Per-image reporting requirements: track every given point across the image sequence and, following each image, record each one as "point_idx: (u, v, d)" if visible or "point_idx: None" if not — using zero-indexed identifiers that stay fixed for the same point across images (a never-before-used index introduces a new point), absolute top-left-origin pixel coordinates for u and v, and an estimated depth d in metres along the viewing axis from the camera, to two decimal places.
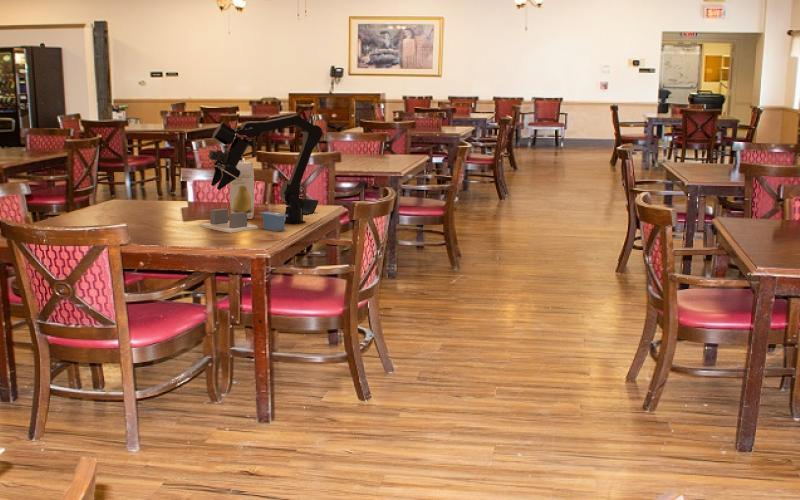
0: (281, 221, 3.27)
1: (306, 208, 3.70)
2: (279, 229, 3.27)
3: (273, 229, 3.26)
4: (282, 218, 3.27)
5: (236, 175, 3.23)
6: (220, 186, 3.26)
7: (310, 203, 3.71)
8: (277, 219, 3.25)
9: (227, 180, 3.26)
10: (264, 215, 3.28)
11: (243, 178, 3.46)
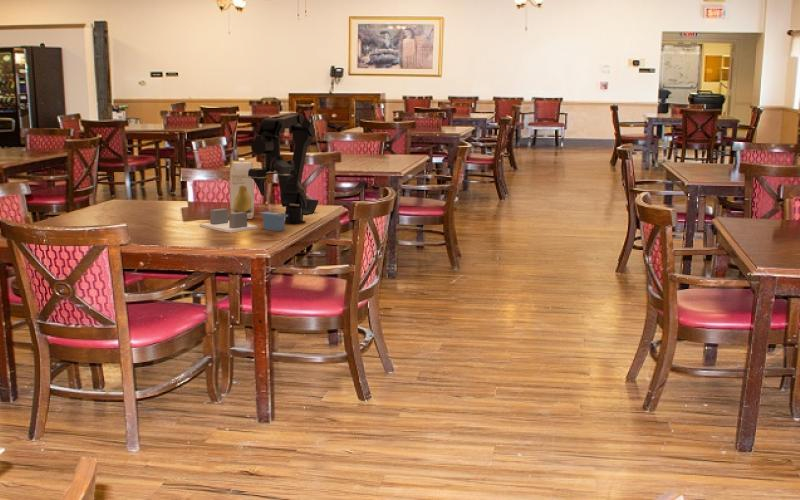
0: (281, 221, 3.27)
1: (306, 208, 3.70)
2: (279, 229, 3.27)
3: (273, 229, 3.26)
4: (282, 218, 3.27)
5: None
6: None
7: (310, 203, 3.71)
8: (277, 219, 3.25)
9: None
10: (264, 215, 3.28)
11: (243, 178, 3.46)
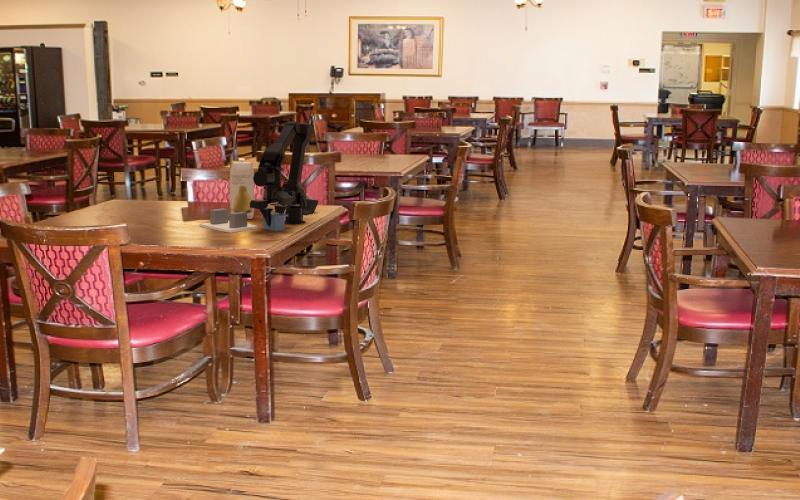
0: (281, 221, 3.27)
1: (306, 208, 3.70)
2: (279, 229, 3.27)
3: (273, 229, 3.26)
4: (282, 218, 3.27)
5: None
6: None
7: (310, 203, 3.71)
8: (277, 219, 3.25)
9: None
10: None
11: (243, 178, 3.46)
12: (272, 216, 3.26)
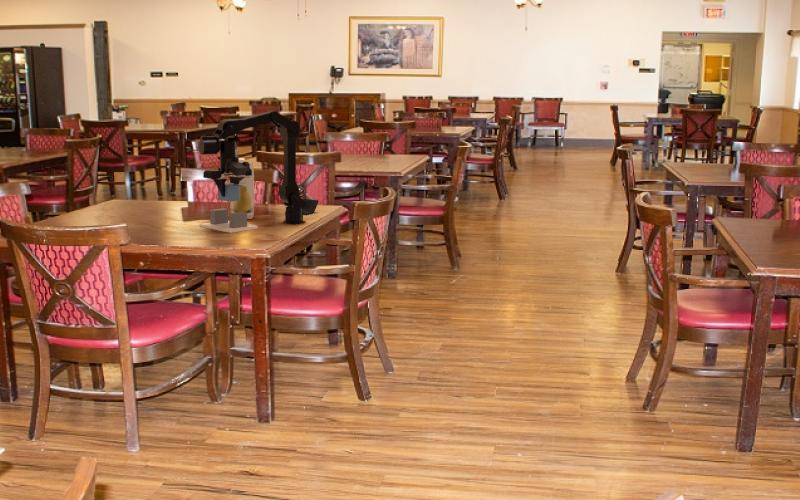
0: (236, 191, 3.26)
1: (306, 208, 3.70)
2: (234, 199, 3.26)
3: (227, 199, 3.25)
4: (237, 188, 3.26)
5: None
6: None
7: (310, 203, 3.71)
8: (231, 189, 3.25)
9: None
10: None
11: (243, 178, 3.46)
12: (226, 186, 3.25)
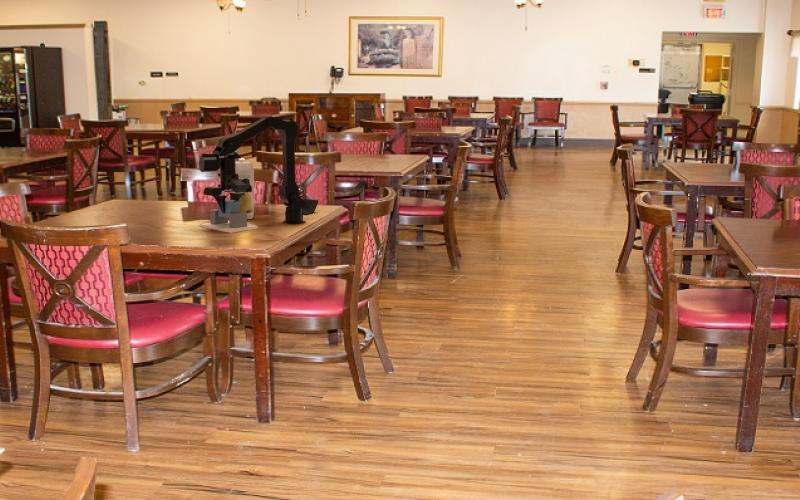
0: (236, 208, 3.28)
1: (306, 208, 3.70)
2: None
3: (228, 216, 3.27)
4: (237, 205, 3.28)
5: None
6: None
7: (310, 203, 3.71)
8: (232, 206, 3.26)
9: None
10: None
11: (243, 178, 3.46)
12: (226, 203, 3.26)
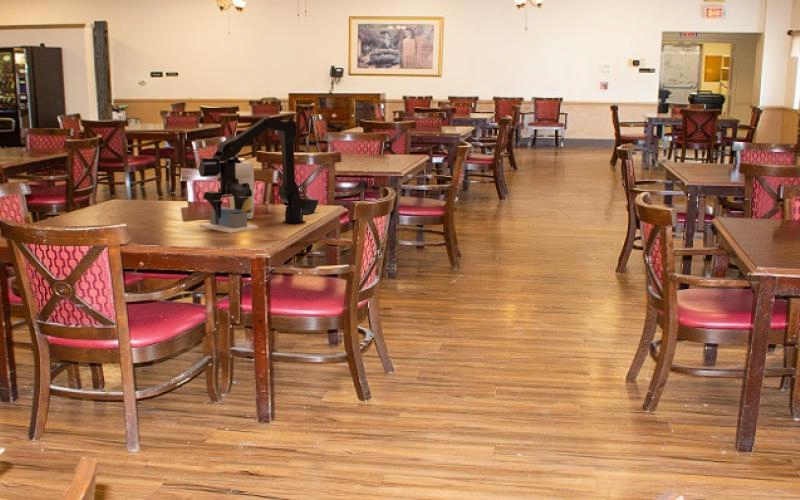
0: None
1: (306, 208, 3.70)
2: None
3: (228, 224, 3.27)
4: None
5: None
6: None
7: (310, 203, 3.71)
8: None
9: None
10: None
11: (243, 178, 3.46)
12: (227, 212, 3.27)
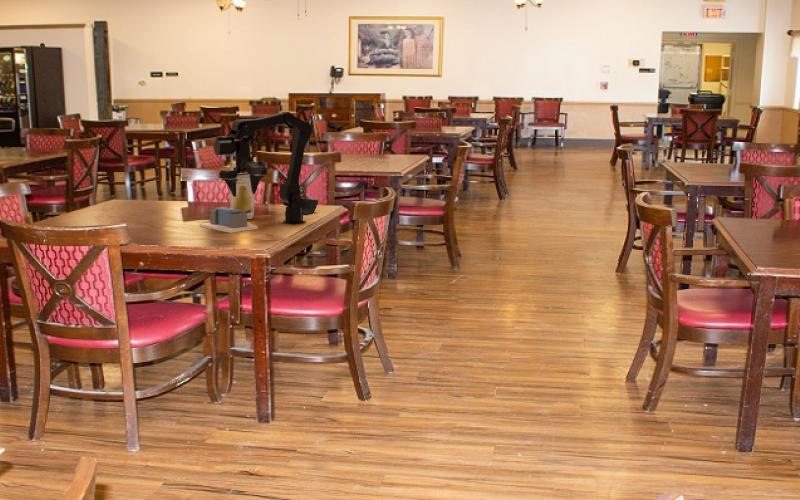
0: None
1: (306, 208, 3.70)
2: None
3: (228, 224, 3.27)
4: None
5: None
6: None
7: (310, 203, 3.71)
8: None
9: None
10: (219, 210, 3.30)
11: (243, 178, 3.46)
12: (227, 212, 3.27)
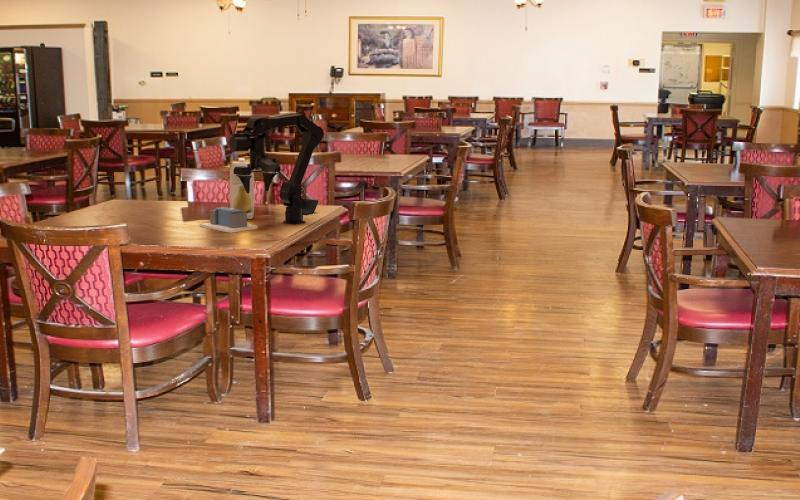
0: None
1: (306, 208, 3.70)
2: None
3: (228, 224, 3.27)
4: None
5: None
6: None
7: (310, 203, 3.71)
8: None
9: None
10: (219, 210, 3.30)
11: None
12: (227, 212, 3.27)
